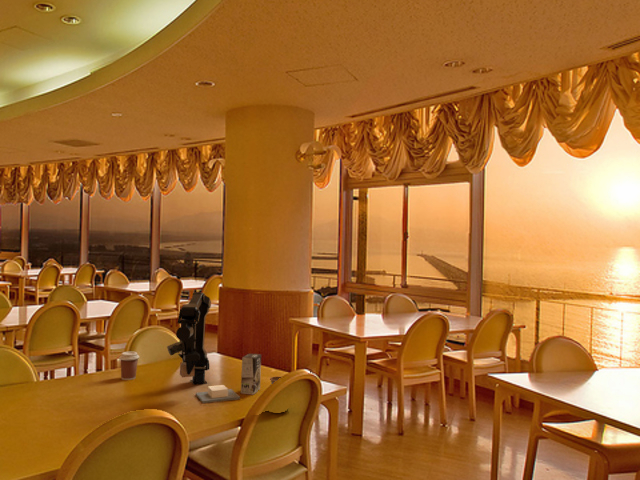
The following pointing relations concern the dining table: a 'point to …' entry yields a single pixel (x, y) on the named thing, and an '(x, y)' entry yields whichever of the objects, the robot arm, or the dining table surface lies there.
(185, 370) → the walnut block
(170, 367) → the dining table surface
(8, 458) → the dining table surface
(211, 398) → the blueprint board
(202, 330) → the robot arm
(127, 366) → the coffee cup
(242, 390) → the coffee box
